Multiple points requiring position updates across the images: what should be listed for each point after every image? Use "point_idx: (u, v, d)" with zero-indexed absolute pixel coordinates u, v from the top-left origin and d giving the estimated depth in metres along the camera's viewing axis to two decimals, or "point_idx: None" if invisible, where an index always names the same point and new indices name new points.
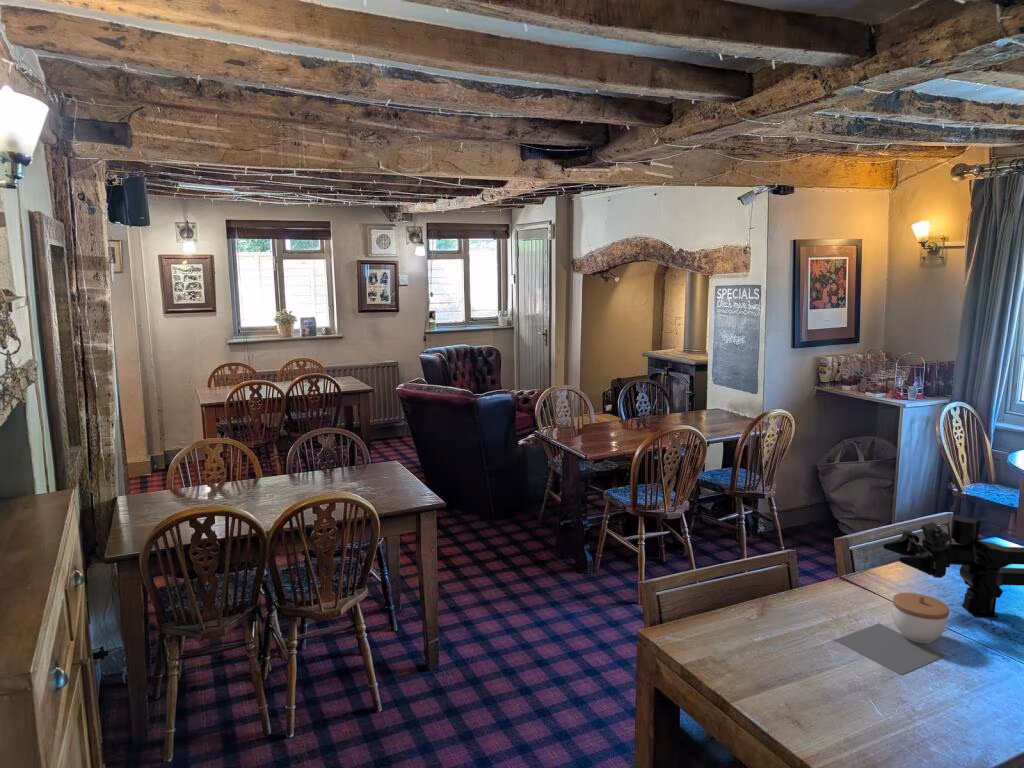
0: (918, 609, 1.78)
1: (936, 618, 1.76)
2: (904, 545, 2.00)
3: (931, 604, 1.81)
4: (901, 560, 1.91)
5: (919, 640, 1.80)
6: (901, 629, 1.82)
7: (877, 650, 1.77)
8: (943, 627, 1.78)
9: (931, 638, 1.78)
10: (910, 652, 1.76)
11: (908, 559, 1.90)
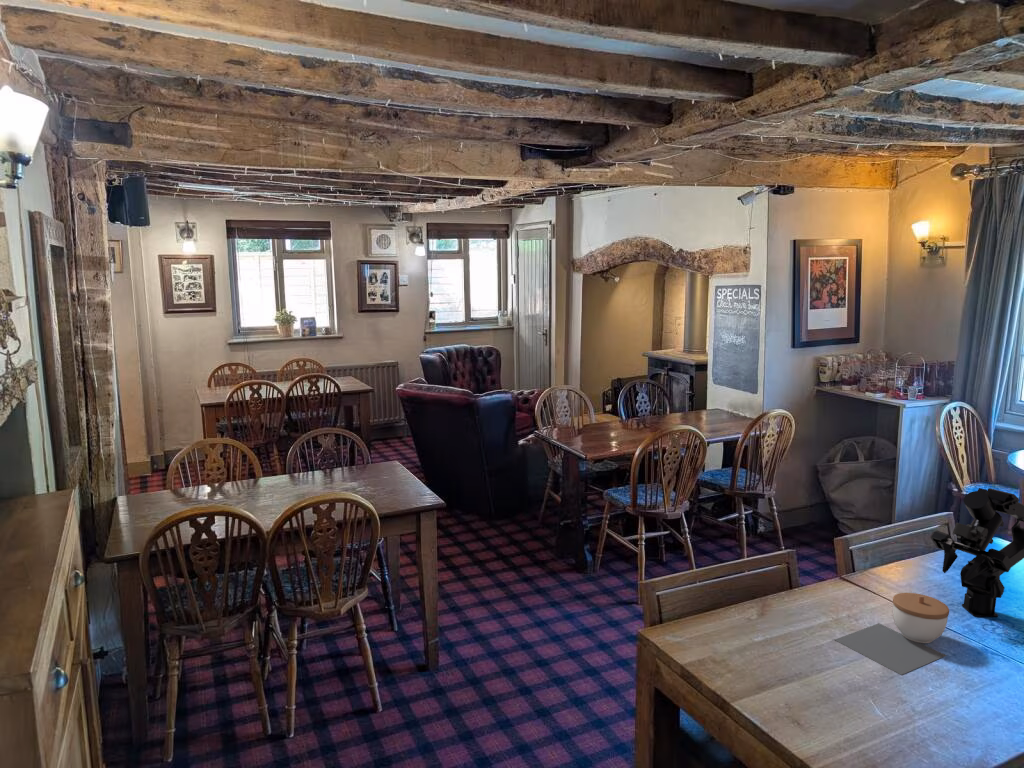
0: (918, 609, 1.78)
1: (936, 618, 1.76)
2: (952, 554, 1.92)
3: (931, 604, 1.81)
4: (967, 579, 1.85)
5: (919, 640, 1.80)
6: (901, 629, 1.82)
7: (877, 650, 1.77)
8: (943, 627, 1.78)
9: (931, 638, 1.78)
10: (910, 652, 1.76)
11: (971, 574, 1.85)
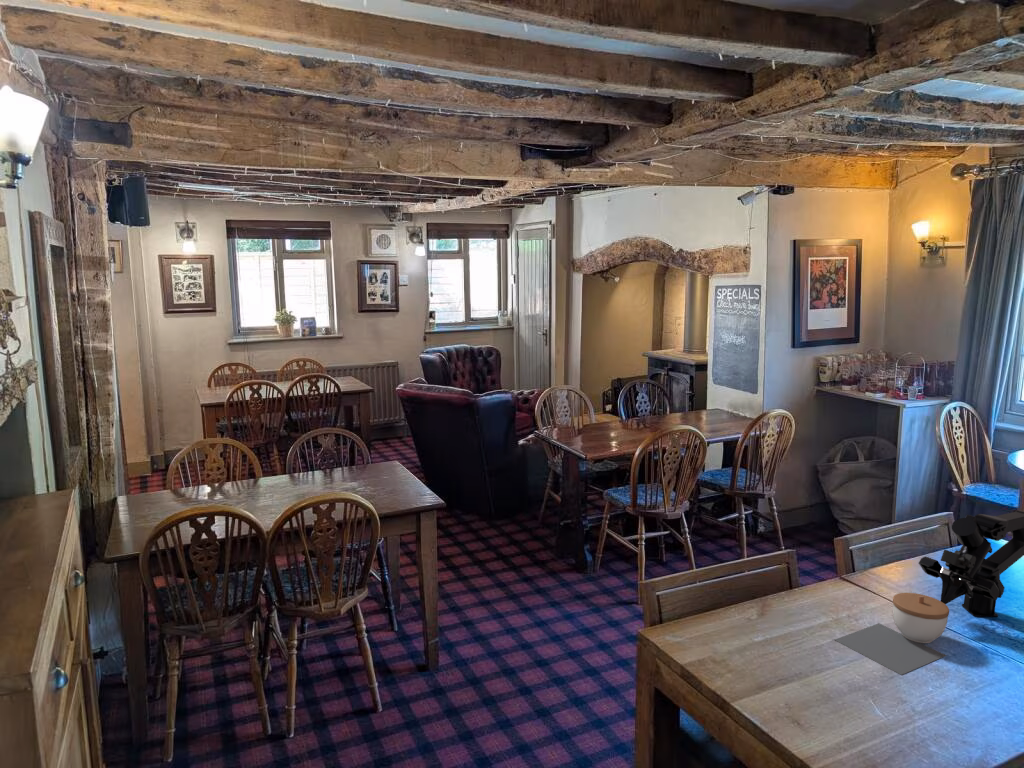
0: (918, 609, 1.78)
1: (936, 618, 1.76)
2: (950, 584, 1.89)
3: (931, 604, 1.81)
4: (945, 603, 1.87)
5: (919, 640, 1.80)
6: (901, 629, 1.82)
7: (877, 650, 1.77)
8: (943, 627, 1.78)
9: (931, 638, 1.78)
10: (910, 652, 1.76)
11: (949, 597, 1.87)
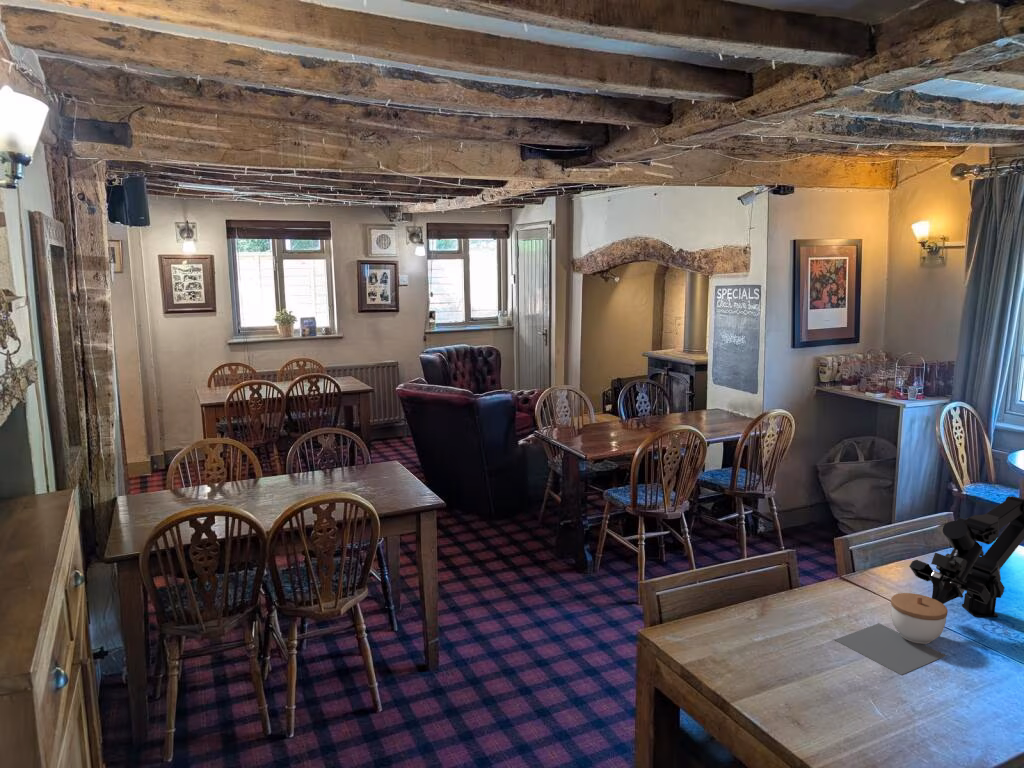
0: (917, 610, 1.78)
1: (934, 619, 1.76)
2: (941, 587, 1.87)
3: (929, 605, 1.81)
4: None
5: (918, 641, 1.79)
6: (900, 630, 1.81)
7: (877, 650, 1.77)
8: (941, 628, 1.77)
9: (930, 639, 1.78)
10: (910, 652, 1.76)
11: (939, 601, 1.85)
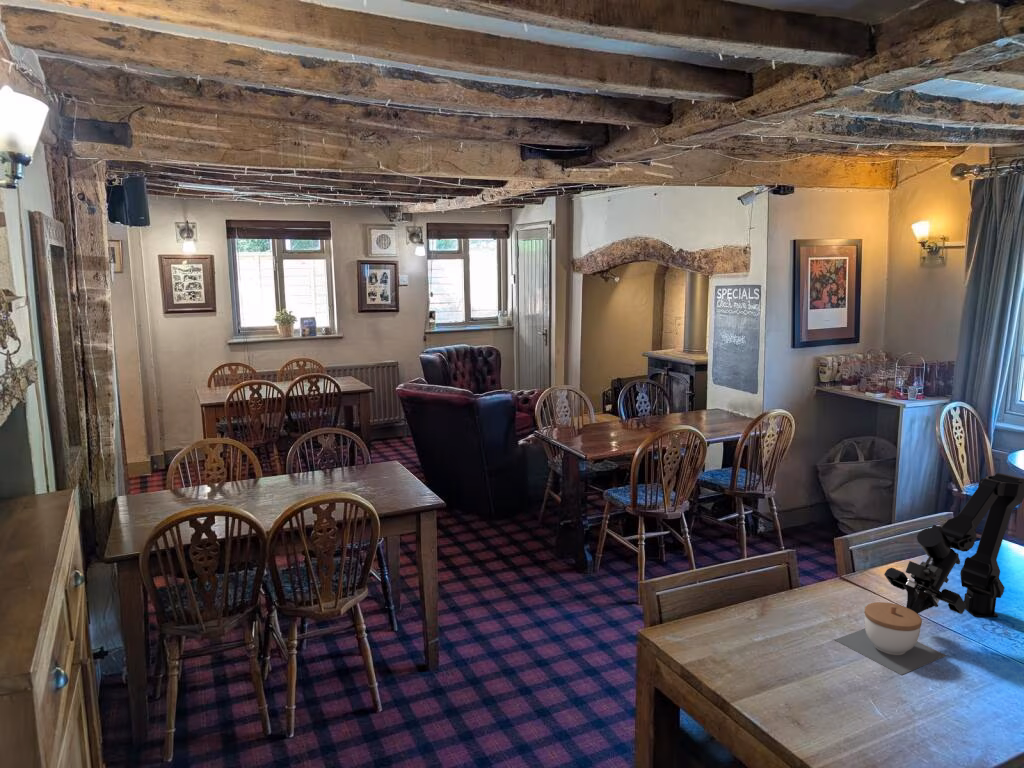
0: (890, 621, 1.72)
1: (908, 629, 1.71)
2: (916, 597, 1.82)
3: (903, 614, 1.75)
4: None
5: (891, 652, 1.74)
6: (873, 641, 1.76)
7: (877, 650, 1.77)
8: (915, 638, 1.72)
9: (903, 650, 1.73)
10: (910, 652, 1.76)
11: (914, 611, 1.80)
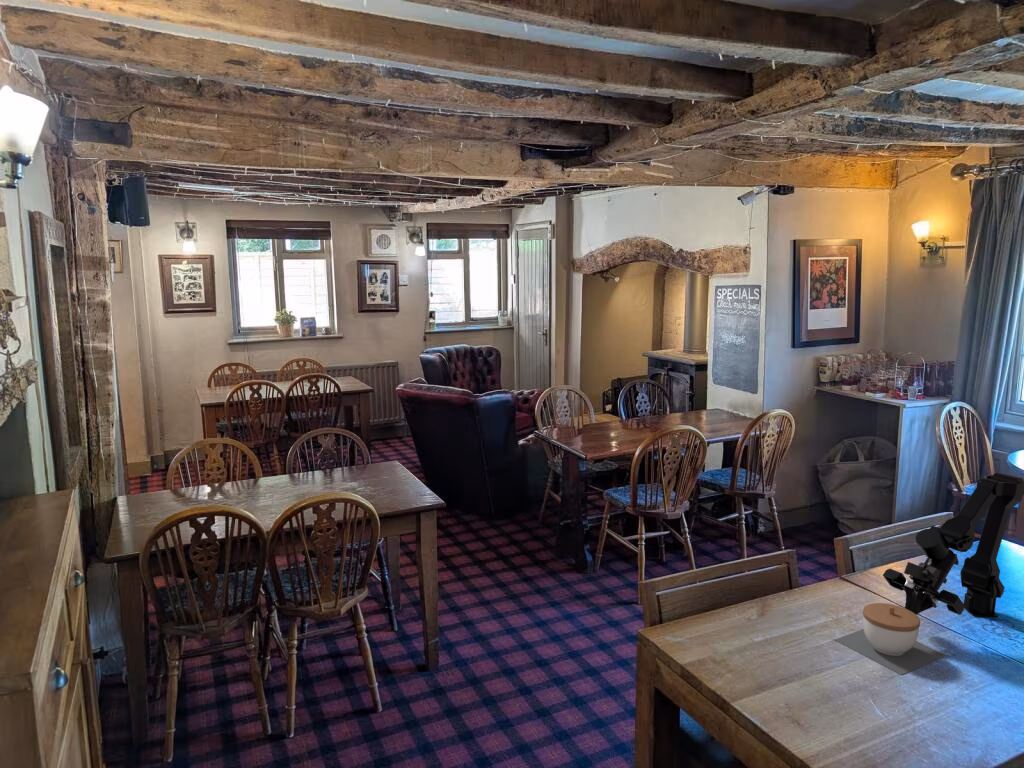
0: (889, 621, 1.72)
1: (907, 630, 1.70)
2: (914, 598, 1.82)
3: (901, 615, 1.75)
4: None
5: (890, 653, 1.74)
6: (871, 642, 1.76)
7: None
8: (914, 639, 1.72)
9: (902, 651, 1.72)
10: (910, 652, 1.76)
11: None
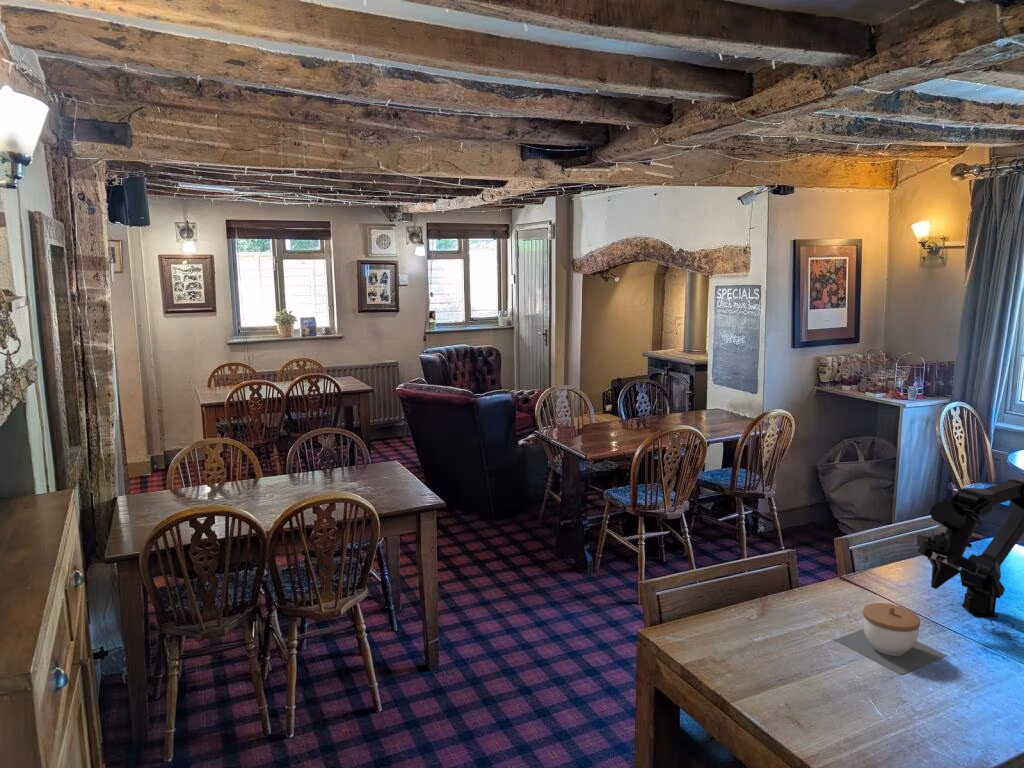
0: (889, 621, 1.72)
1: (907, 630, 1.70)
2: None
3: (901, 615, 1.75)
4: (935, 587, 1.87)
5: (890, 653, 1.74)
6: (871, 642, 1.76)
7: None
8: (914, 639, 1.72)
9: (902, 651, 1.72)
10: (910, 652, 1.76)
11: (937, 581, 1.87)
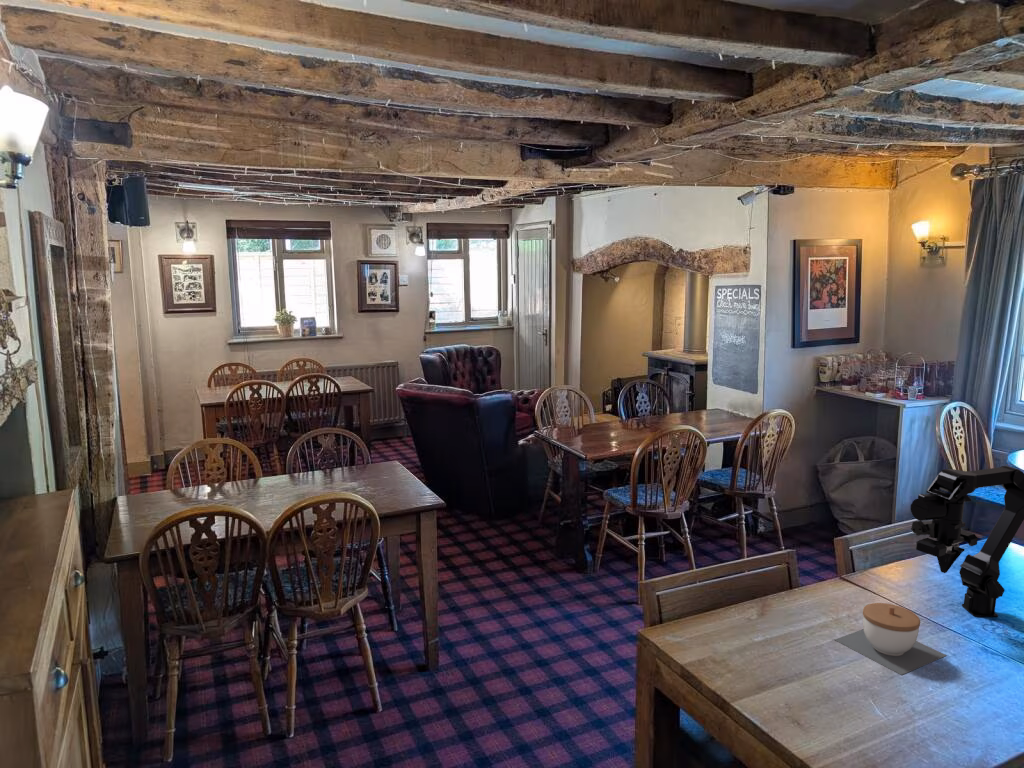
0: (889, 621, 1.72)
1: (907, 630, 1.70)
2: None
3: (901, 615, 1.75)
4: (943, 571, 1.91)
5: (890, 653, 1.74)
6: (871, 642, 1.76)
7: None
8: (914, 639, 1.72)
9: (902, 651, 1.72)
10: (910, 652, 1.76)
11: (940, 565, 1.91)
